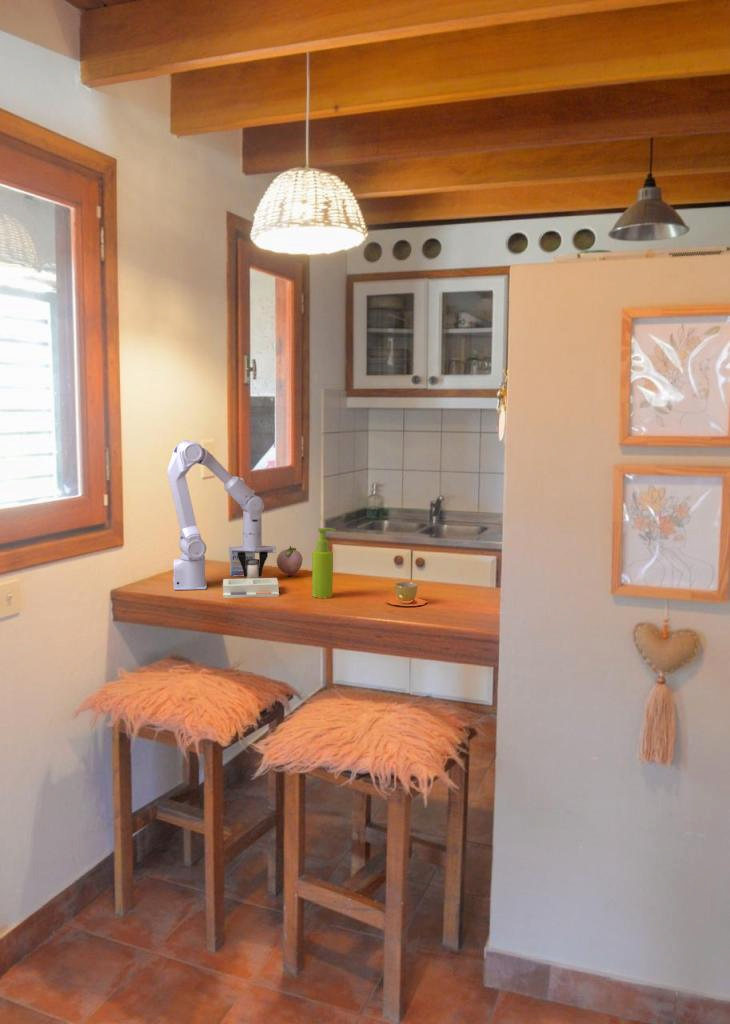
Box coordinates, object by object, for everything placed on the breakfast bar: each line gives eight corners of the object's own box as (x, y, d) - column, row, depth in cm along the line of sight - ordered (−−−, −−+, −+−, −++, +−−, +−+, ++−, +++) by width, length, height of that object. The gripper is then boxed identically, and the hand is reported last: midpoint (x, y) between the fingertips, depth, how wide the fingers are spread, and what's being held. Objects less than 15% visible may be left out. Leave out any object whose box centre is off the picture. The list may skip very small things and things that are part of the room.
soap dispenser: (337, 598, 226) (338, 529, 223) (313, 598, 224) (314, 530, 222) (333, 593, 232) (334, 526, 229) (310, 594, 230) (311, 526, 228)
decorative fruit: (278, 573, 259) (278, 543, 257) (303, 573, 259) (303, 543, 257) (275, 579, 249) (275, 548, 248) (300, 579, 249) (300, 548, 248)
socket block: (223, 598, 224) (222, 587, 224) (223, 588, 235) (223, 579, 235) (279, 596, 227) (279, 586, 226) (276, 587, 238) (276, 577, 238)
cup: (428, 608, 216) (428, 589, 215) (384, 608, 216) (385, 588, 216) (426, 598, 228) (426, 580, 227) (384, 597, 228) (385, 579, 227)
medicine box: (230, 576, 252) (230, 550, 251) (229, 574, 257) (229, 548, 255) (255, 575, 254) (255, 549, 253) (253, 573, 259) (253, 547, 257)
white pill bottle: (246, 583, 243) (246, 561, 242) (245, 580, 247) (245, 558, 246) (259, 583, 244) (259, 561, 243) (259, 580, 248) (258, 558, 247)
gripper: (228, 535, 238) (229, 579, 240) (276, 534, 240) (276, 578, 242) (228, 531, 245) (229, 574, 247) (275, 531, 247) (275, 573, 249)
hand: (252, 576), depth 245 cm, fingers closed on white pill bottle, 4 cm apart
